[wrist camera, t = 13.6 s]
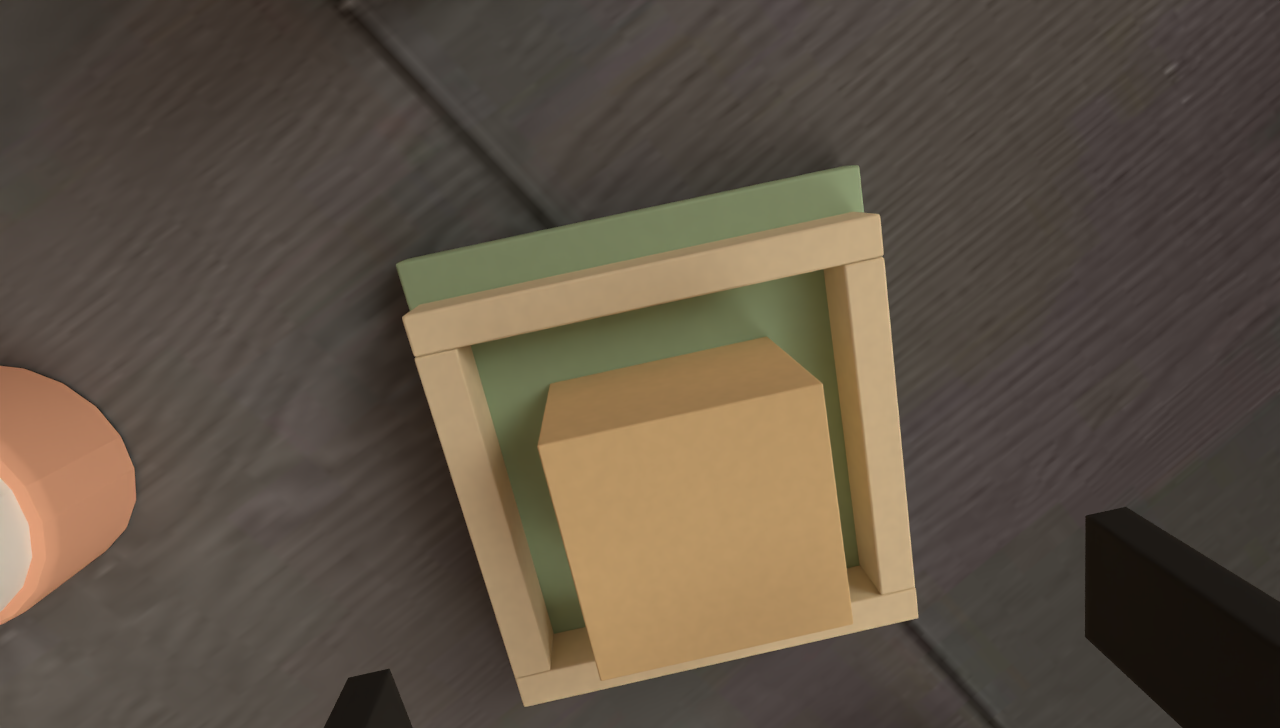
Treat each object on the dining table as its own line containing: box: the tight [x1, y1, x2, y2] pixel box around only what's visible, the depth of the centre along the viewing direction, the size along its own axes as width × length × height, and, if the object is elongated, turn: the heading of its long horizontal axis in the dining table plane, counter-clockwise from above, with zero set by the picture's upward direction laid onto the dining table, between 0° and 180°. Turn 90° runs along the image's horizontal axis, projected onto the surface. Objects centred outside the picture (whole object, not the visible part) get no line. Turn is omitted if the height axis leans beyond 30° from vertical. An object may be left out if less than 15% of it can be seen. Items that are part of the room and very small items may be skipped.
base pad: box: [396, 165, 918, 707], centre depth 21 cm, size 16×14×3 cm
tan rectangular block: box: [537, 337, 853, 681], centre depth 19 cm, size 7×7×5 cm
